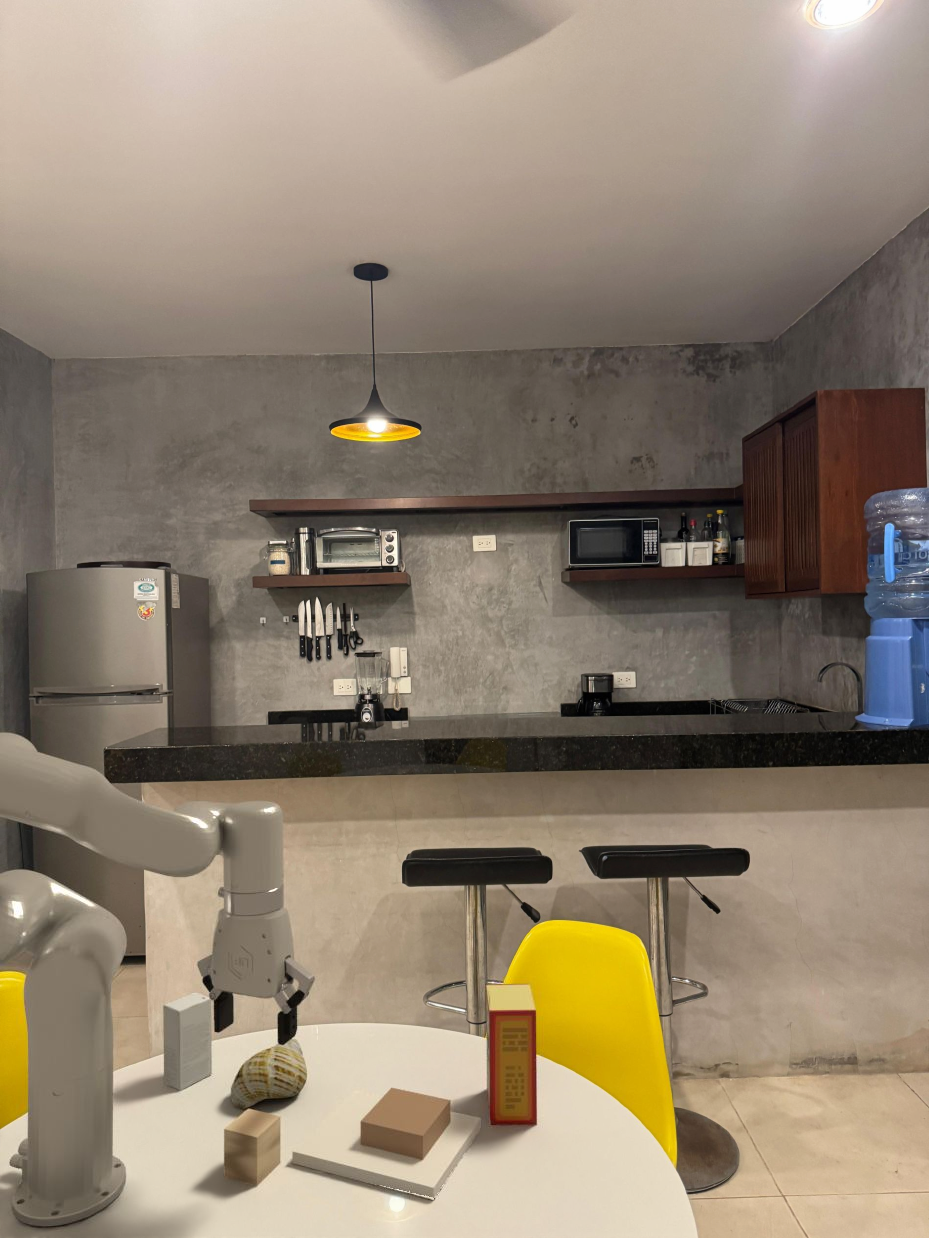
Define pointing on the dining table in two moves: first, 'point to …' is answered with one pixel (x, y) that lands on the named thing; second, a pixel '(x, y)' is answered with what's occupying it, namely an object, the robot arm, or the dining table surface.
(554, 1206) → the dining table surface
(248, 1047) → the dining table surface
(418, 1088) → the dining table surface
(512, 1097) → the baking soda box
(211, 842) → the robot arm
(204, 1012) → the skincare box
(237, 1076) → the seashell
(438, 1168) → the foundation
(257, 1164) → the oak block
